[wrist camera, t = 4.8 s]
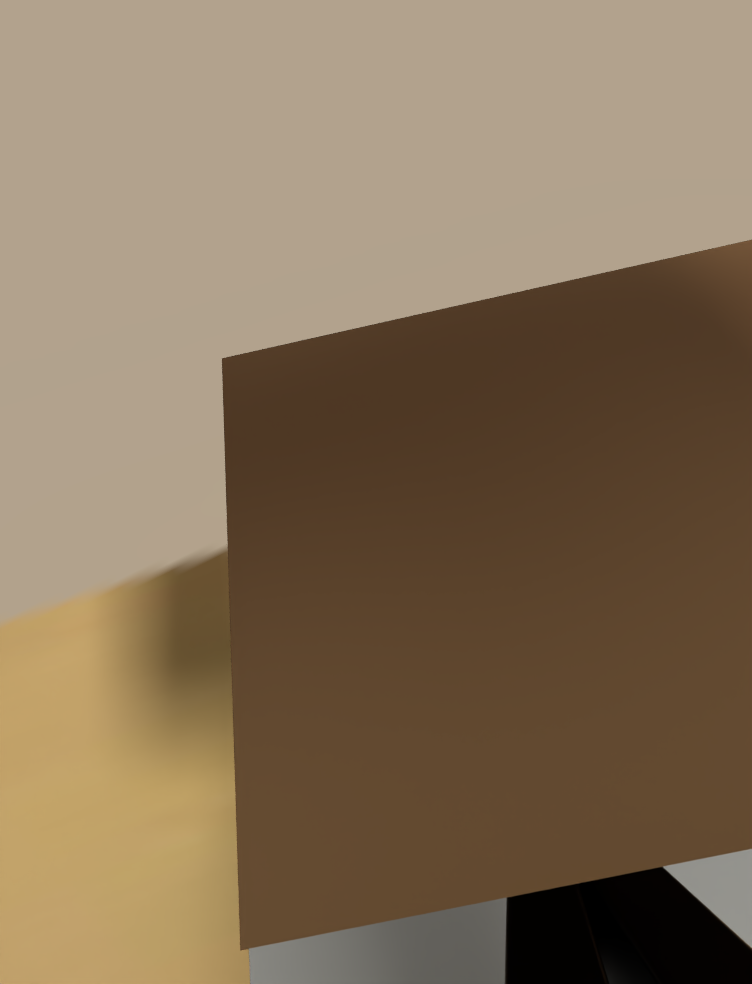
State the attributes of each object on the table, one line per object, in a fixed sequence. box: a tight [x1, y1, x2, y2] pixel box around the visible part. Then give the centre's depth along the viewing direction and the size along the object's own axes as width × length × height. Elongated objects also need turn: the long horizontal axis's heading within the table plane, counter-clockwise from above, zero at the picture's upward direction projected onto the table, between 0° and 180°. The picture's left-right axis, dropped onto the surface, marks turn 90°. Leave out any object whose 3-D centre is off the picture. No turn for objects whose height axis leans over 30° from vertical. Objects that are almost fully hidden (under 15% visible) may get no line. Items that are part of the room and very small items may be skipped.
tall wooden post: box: [222, 240, 752, 950], centre depth 9 cm, size 4×5×12 cm
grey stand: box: [249, 849, 752, 984], centre depth 10 cm, size 14×14×6 cm
